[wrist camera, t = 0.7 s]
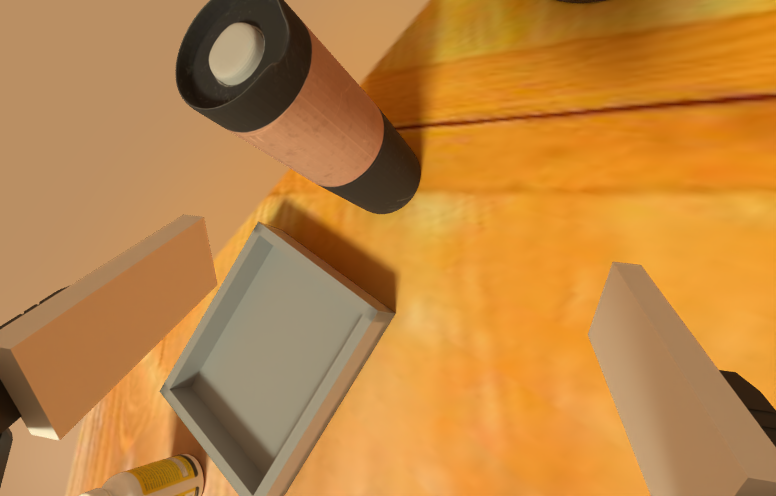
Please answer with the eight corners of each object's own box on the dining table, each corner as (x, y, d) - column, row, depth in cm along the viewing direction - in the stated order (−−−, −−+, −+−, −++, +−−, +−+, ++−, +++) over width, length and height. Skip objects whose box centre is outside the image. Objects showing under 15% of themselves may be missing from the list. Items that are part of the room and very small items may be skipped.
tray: (281, 230, 43) (258, 221, 40) (395, 313, 35) (378, 311, 32) (189, 387, 44) (159, 391, 41) (281, 500, 36) (254, 515, 33)
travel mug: (339, 175, 41) (158, 51, 23) (398, 126, 39) (251, -49, 21) (373, 233, 38) (196, 142, 20) (439, 183, 36) (307, 34, 18)
